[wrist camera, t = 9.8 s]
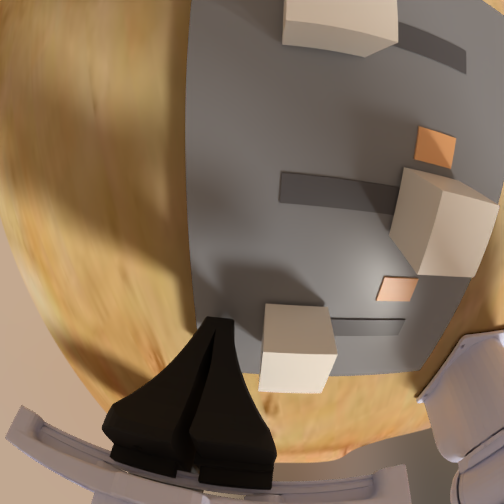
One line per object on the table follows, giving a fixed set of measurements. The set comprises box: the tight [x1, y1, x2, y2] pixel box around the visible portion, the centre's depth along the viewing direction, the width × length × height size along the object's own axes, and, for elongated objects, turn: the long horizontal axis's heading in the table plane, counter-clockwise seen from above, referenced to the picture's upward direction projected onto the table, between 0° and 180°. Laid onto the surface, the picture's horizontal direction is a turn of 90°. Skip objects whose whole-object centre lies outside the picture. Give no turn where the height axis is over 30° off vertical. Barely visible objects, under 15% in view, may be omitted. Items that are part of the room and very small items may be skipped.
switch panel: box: [185, 0, 504, 376], centre depth 11 cm, size 23×15×2 cm, turn 177°
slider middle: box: [389, 167, 500, 277], centre depth 9 cm, size 3×3×3 cm
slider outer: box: [282, 0, 398, 57], centre depth 5 cm, size 3×3×3 cm
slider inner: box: [258, 303, 338, 393], centre depth 12 cm, size 3×3×3 cm
